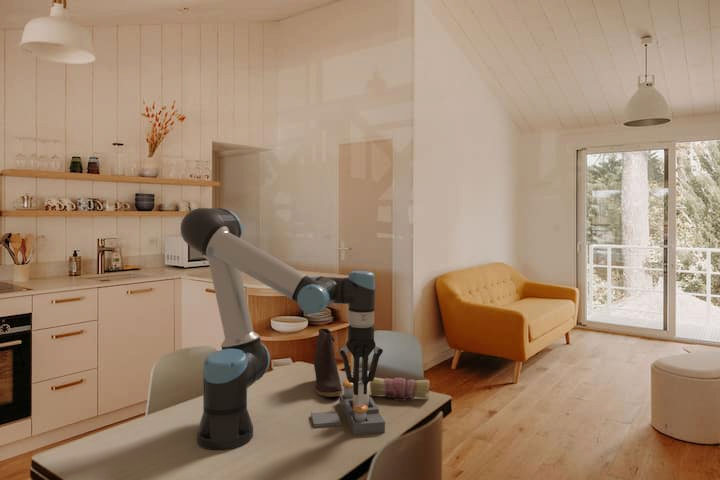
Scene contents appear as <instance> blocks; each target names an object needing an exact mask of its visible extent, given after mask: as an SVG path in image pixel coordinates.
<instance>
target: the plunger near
mask: <svg viewBox="0 0 720 480" xmlns="http://www.w3.org/2000/svg"><path fill="white" fill-rule="evenodd" d="M367 410H368V407H367V406H366V405H363V407H358V406H357V405H354V406H353V411H355V422H363V421H366V411H367Z"/></svg>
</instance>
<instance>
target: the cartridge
mask: <svg viewBox="0 0 720 480" xmlns="http://www.w3.org/2000/svg"><path fill="white" fill-rule="evenodd" d="M368 373H369V370H368ZM359 382H362V367H361V368H360V367H359ZM369 397H370V382H368V384H367V394H364V396H363V405H366V406H367V407H368V408H369ZM354 405H357V404H356V395H354V393H353V406H354Z"/></svg>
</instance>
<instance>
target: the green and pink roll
mask: <svg viewBox="0 0 720 480" xmlns="http://www.w3.org/2000/svg"><path fill="white" fill-rule="evenodd" d="M429 388H430V380H429V379H418V380H415V379H406V378H403V377H394V378H389V377H385V378H382V377H376V376H374V380H373V381H370V382H369V390H370V397H373V396H375V397H376V396H385V398H393V399H394V400H395V401H405V400H407V398H408V399H414V398H419V399H425V400H428V399H429V398H430V390H429Z"/></svg>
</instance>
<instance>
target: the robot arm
mask: <svg viewBox="0 0 720 480" xmlns="http://www.w3.org/2000/svg"><path fill="white" fill-rule="evenodd" d="M242 234H243V225H242V221H241V220H240V218H239V217H238V214H236V213H234V212H233V211H231V210H229V209H226V208H222V207H212V208H211V207H210V208H206V207H198V208H194V209H192V210H190V211H189V212H188V213H186V214H185V215H184V216H183V218H182V220H181V223H180V235H181V237H182V239H183V241H184V242H185V244H187V245H188V246H189V247H191V249H193V250H195V251H197V252H198V253H201V257H202V258H204V259H206V260H207V261H208V266H209V270H210V275H211V279H212V284H213V288H214V289H213V290H214V292H215V298H216V303H217V307H218V313H219V316H220V321H221V325H222V330H223V335H224V340H223V341H222V343H221V349H220V350H215V351H213V352H211V353H210V354H208V355H207V356H206V357H205V359H204V361H203V368H202V383H203V384H202V387H203V389H202V390H203V391H202V392H203V395H202V397H203V403H202V404H203V405H202V406H203V413H202V415H201V418H200V422H199V425H198V428H197V432H196V443H197V444H198V445H199V446H200V447H202V448H204V449H208V450H215V451H217V450H220V451H222V450H230V449H235V448H238V447H241V446H243V445H246V444H247V443H249V442H250V441H251V440H252V439H253V437H254V424H253V422H252V420H251V416H250V414H249V410H248V404H247V403H248V389H249V388H250V386H253V384H255V383H256V382H258V381H259V380H261V378H262V377H264V375H265V373H266V372H267V371H268V369H269V368H270V367H269V366H270V362H271V357H270V351H269V350H268V348H267V346H266V345H264V344H263V342H262V341H261V336H260V334H259V333H256V332H255V331H254V327H253V323H252V319H251V313H250V309H249V304H248V299H247V296H246V291H245V285H244V280H243V277H242V276H243V275H242V273H244V274H246V275H247V276H249V277H251V278H253V279H255V280H256V281H258V282H260V283H261V284H263V285H265V286H267V287H269V288H271V289H272V290H274V291H276V292H278V293H280V294H281V295H283V296H285V297H287V298H289V299H291V300H292V301H294V302H295V303H297V305H298V307H299V308H300V310H302V312H304V313H306V314H310V315H313V314H317V313H321V312H323V311H325V309H326V308H328V307H329V306H330V305H332V304H343V305H346V304H347V305H348V314H347V315H348V319H347V320H348V322H347V323H348V327H347V333H348V334H347V342H346V343H345V346H344V347H342V348H339V349H338V352H339V354H340V355H341V358H342V362H343V363H342V364H343V366H344V371H345V376H346V379H347V381H349V382H350V383H353V393H354V395H356V404H357V406H358V407H363V396H364V394H367V384H368V382H369V383H370V381H373V380H374V377H376V376H375V375H376V373H377V368H378V364H379V360H380V357H381V355H382V354H383V352H384V350H383V349H382V347H380V346H379V345H376V342H375V326H374V324H375V309H376V308H375V307H376V306H375V304H376V303H375V302H376V281H375V280H376V279H375V273H373V272H371V271H369V270H353V271H350V272H349V273H348V274H349V275H348V277H336V276H335V277H334V276H333V277H332V276H321V275H320V276H311V277H310V276H308V275H307V274H305V273H303V272H301V271H299V270H298V269H296V268H294V267H292V266H290V265H289V264H287V263H285V262H284V261H281V260H280V259H278V258H276V257H275V256H272V255H271V254H269V253H267V252H265V251H263V250H261V249H260V248H258V247H257V246H254V245H253V244H251V243H249V242H247V241H245V240H244V239H242V238H241V236H242ZM241 272H242V273H241ZM348 351H349V352H348ZM372 352H373V355H372V359H371V363H370V367H369V365H368V364H369V356H370V354H371V353H372ZM349 353H350V354H351V356H352V359H353V360H352V363H353V364H352V366H353V367H352V370H351V367H350V362H349V359H348V354H349ZM360 359H361V368H362V382H359V368H360ZM351 371H352V372H351ZM368 371H369V373H368Z"/></svg>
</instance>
